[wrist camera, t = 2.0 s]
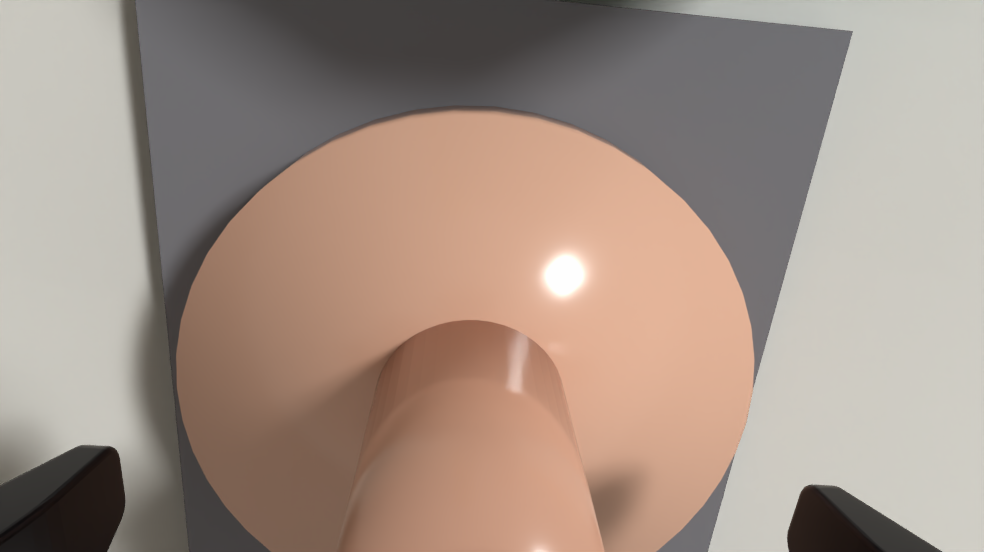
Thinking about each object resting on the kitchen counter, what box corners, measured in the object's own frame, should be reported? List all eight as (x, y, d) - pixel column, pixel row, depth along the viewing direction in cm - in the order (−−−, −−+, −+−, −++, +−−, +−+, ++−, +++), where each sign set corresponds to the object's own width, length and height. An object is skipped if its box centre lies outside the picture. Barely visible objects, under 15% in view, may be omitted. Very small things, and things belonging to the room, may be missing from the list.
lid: (674, 581, 13) (801, 935, 8) (216, 561, 13) (51, 929, 8) (791, 132, 10) (1125, 265, 5) (179, 77, 9) (-160, 160, 4)
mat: (677, 621, 14) (683, 637, 14) (203, 601, 14) (195, 618, 13) (838, 29, 10) (852, 31, 9) (144, -42, 9) (130, -44, 9)
